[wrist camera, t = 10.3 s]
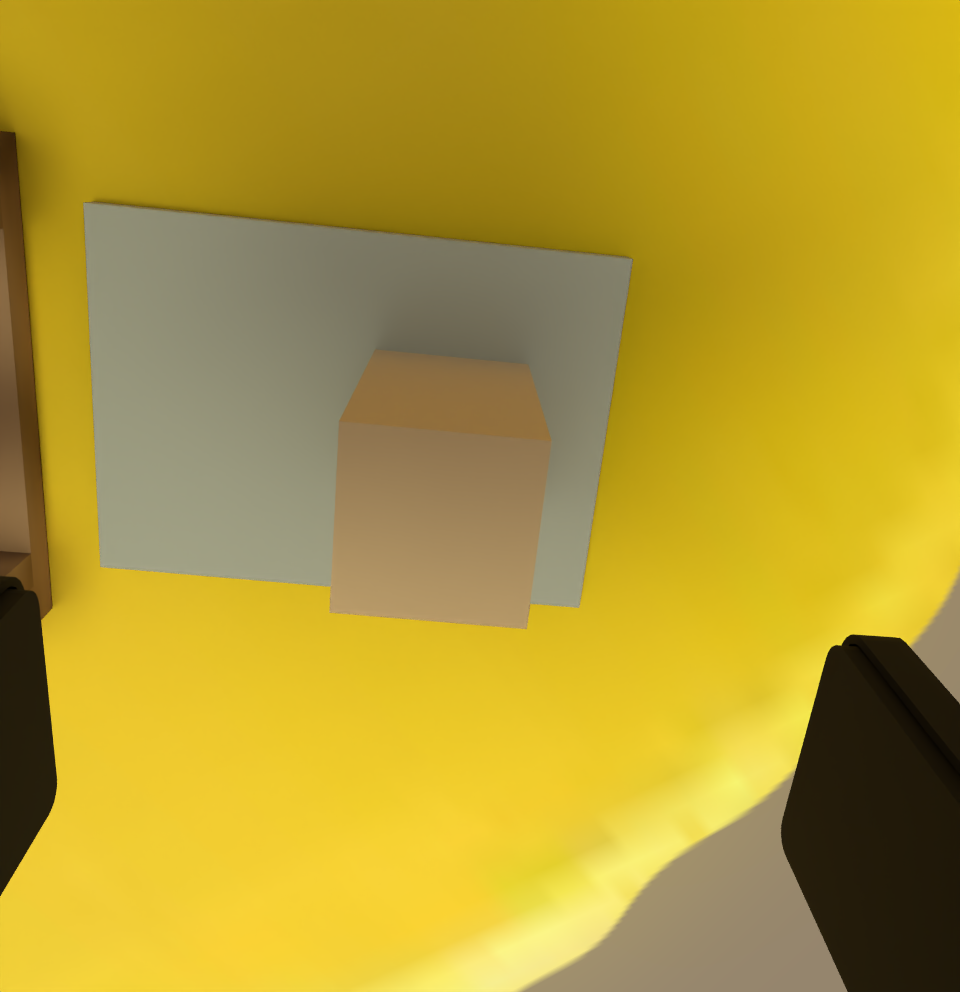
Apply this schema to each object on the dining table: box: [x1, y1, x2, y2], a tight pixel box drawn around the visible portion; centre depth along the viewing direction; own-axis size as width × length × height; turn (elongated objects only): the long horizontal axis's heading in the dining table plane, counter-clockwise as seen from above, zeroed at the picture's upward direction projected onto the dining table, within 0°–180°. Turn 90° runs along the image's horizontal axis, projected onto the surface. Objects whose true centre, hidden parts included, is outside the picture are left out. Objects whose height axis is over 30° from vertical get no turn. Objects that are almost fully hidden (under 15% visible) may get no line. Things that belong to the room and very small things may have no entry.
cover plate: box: [83, 202, 633, 629], centre depth 21 cm, size 10×14×8 cm
